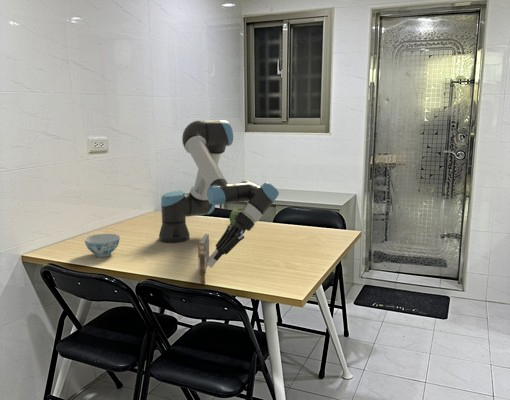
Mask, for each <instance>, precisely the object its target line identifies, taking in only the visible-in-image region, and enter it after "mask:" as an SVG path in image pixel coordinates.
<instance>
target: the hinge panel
mask: <svg viewBox="0 0 510 400" xmlns="http://www.w3.org/2000/svg"><path fill="white" fill-rule="evenodd" d="M200 242H205V243H206V257H205V258H204V260H205V262H206V261H207V259H208V258H209V257H210V234H209V233H204V234H203V236H202V239H201V240H200ZM197 259H198V261H197V262H198V266H197V267H198V273H199V274H200V258H199V257H198V256H197ZM207 267H208V265H207V264H206V263H205V272H206V273H207Z"/></svg>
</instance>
